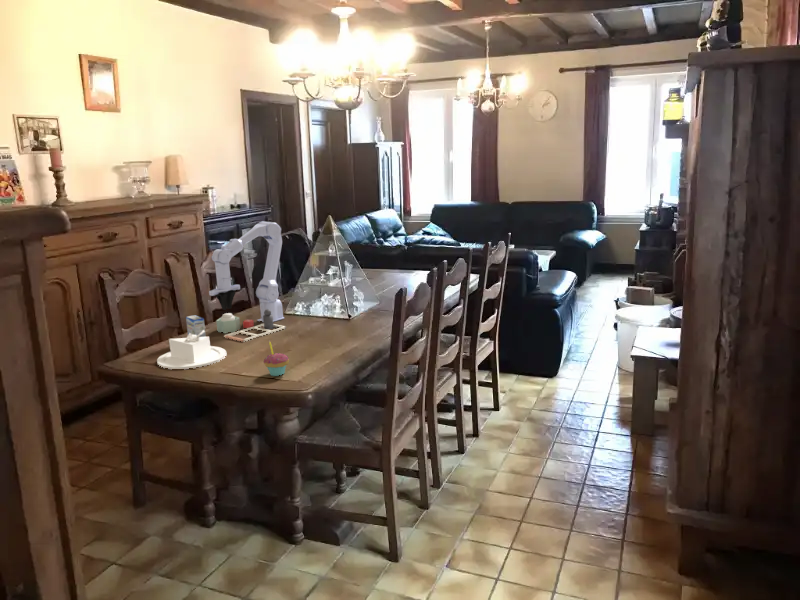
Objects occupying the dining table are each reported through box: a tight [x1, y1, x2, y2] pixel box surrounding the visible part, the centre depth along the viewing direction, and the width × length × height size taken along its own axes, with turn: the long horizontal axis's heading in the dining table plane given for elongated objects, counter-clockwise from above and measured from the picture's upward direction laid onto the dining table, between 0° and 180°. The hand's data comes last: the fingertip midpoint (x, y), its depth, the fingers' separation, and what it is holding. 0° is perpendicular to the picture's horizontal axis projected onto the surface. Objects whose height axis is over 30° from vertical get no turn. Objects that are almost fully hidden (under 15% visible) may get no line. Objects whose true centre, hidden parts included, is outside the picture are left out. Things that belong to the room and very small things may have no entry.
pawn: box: [263, 309, 275, 330], centre depth 282 cm, size 4×4×9 cm
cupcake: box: [263, 340, 290, 377], centre depth 225 cm, size 9×8×12 cm
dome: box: [220, 312, 236, 321], centre depth 283 cm, size 6×6×4 cm
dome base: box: [215, 316, 241, 334], centre depth 283 cm, size 8×10×5 cm
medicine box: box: [185, 314, 207, 337], centre depth 274 cm, size 8×4×9 cm, turn 42°
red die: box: [242, 319, 255, 329], centre depth 286 cm, size 3×3×3 cm
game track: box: [223, 322, 287, 343], centre depth 277 cm, size 23×13×1 cm, turn 141°
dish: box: [156, 330, 228, 370], centre depth 246 cm, size 25×25×11 cm
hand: (226, 308), depth 282 cm, fingers closed
